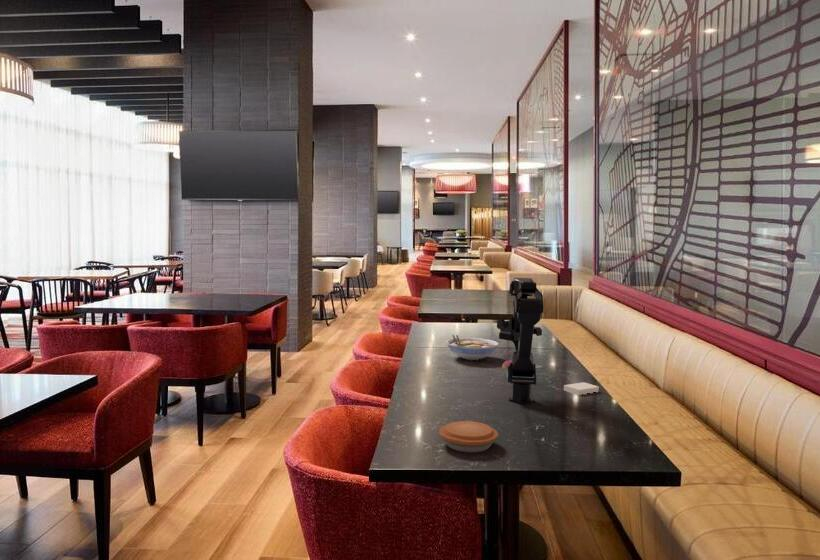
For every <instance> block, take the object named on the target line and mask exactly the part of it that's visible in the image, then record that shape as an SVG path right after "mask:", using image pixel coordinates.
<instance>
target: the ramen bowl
mask: <svg viewBox="0 0 820 560" xmlns="http://www.w3.org/2000/svg"><path fill="white" fill-rule="evenodd" d="M455 336H456V337H455ZM445 342H446V345H447V346H448V348H449V350H450V351H451V352H452V353H453V354H454V355H456V356H458V357H460V358H462V359H463V360H465V359H466V361H472V360H476V361H479V359H480V360H482V359H484V358H486V357H490V356H491V355H492V354H493V353H494V352H495V350H496V349H497V348H498V345H499V342H497V341H495V340H492V339H487V338H481V337H479V338H478V337H459V334H456V335H454V334H452V338H450V339H447V340H446V341H445Z"/></svg>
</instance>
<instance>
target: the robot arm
mask: <svg viewBox="0 0 820 560" xmlns="http://www.w3.org/2000/svg"><path fill="white" fill-rule="evenodd" d="M508 290H509V291H508V294H510V297H512V299H511V305H512V307H513V314H512V315H511V316H510V317H509V319H508V320H505V319H503V318H502V319H497V321H496V329H498V330H499V332H498V339H499V340H504V341H510V342H512V343H513V345H514V347H515V350H516V351H514V352H513V353H512V358H511V360H512V363H510V364H509V366H508V378H507V383H510V384H512V397H509V398H508V401H511V402H515V403H518V404H522V405H525V404H526V405H527V404H529V403H532V402H535V401H536V399H535V398H533V397H532V389H533V388H532V385H537V373H536V372H537V371H536V370H537V369H536V363H534V356H533V353H532V347H533V339H534V335H535V336H536V337H541V336H542V335H543V329H542V328H541V327H539V326H536V325H537V324H538V323H539V322H540V321H541V316H542V315H543V314H544V307H545V306H544V296H543V294H542V293H541V291H540V290H539V289H538V288H537V282H535V281H534V280H533V278H532V277H513V280H511V282H510V284H509V289H508ZM533 296H534V298H531V297H533ZM529 297H530V298H529ZM512 376H514V377H512Z"/></svg>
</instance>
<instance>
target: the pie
mask: <svg viewBox="0 0 820 560" xmlns="http://www.w3.org/2000/svg"><path fill="white" fill-rule="evenodd" d="M438 433H439V436H440V437H442V439H443V441H444V442H445V444H446V446H447V447H448V448H450V449H451V450H453V451H457V452H462V453H470V454H471V453H472V454H473V453H481V452H485V451H487V450H488V449H490V447H491V446H492V445H493V443H494V442H495V440H496V439H497V438H498V437H499V432H498V431H497V430H496V429H495V428H493V427H491V426H490V425H488V424H486V423H481V422H477V421H471V420H470V421H469V420H460V421H453V422H450V423H447V424H444V425H443V426H441V427H440V429H439V430H438Z"/></svg>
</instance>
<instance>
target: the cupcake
mask: <svg viewBox="0 0 820 560" xmlns="http://www.w3.org/2000/svg"><path fill="white" fill-rule="evenodd" d="M510 363H512V359H507V360H506V361H504V362H503V363H502V365H501V367H502V369H503V370H504V372H505V375H506V378H507V379H508V366H509V364H510ZM512 377H514V376H512Z"/></svg>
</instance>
